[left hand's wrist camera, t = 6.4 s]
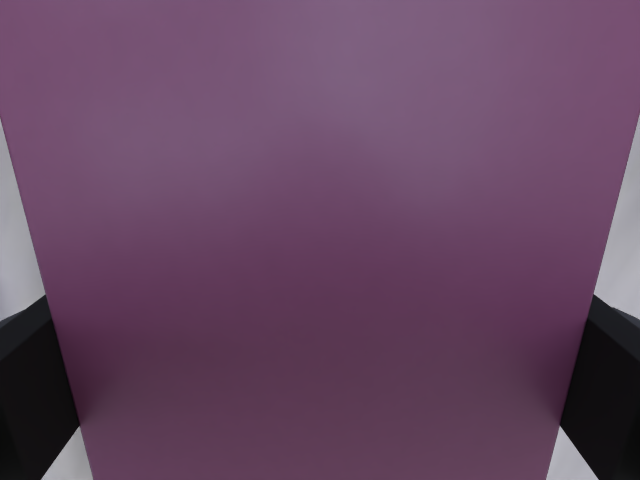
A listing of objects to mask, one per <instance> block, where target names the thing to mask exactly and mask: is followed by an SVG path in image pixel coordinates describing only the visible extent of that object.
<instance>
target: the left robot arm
mask: <svg viewBox="0 0 640 480" xmlns="http://www.w3.org/2000/svg"><path fill="white" fill-rule="evenodd" d="M79 426H80V425H79V421H78V417H77V413H76V410H75V406H74V402H73V398H72V394H71V390H70V386H69V382H68V379H67V375H66V371H65V367H64V363H63V359H62V355H61V351H60V347H59V344H58V340H57V336H56V332H55V328H54V324H53V320H52V316H51V312H50V309H49V305H48V301H47V297H46V295H44V296H43V297H41V298H40V299H39V300H37V301H36V302H35V303H33V304H32V305H31V306H29V307H28V308H27V309H25V310H23V311H21V312H19V313H17V314H14V315H12V316H10V317H8V318H6V319H4V320H2V321H0V480H41V479H42V477H43V476H44V474H45V473H46V472H47V470H48V469H49V467H50V466H51V465H52V463H53V462H54V460H55V459H56V458H57V456H58V455H59V453H60V452H61V451H62V449H63V448H64V446H65V445H66V444H67V442H68V441H69V440H70V438H71V437H72V435H73V434H74V433H75V431H76V430H77V428H78V427H79ZM560 426H561V428H562V429H563V430H564V432H565V433H566V435H567V436H568V437H569V439H570V440H571V442H572V443H573V444H574V446H575V447H576V449H577V450H578V451H579V453H580V454H581V455H582V457H583V458H584V460H585V461H586V462H587V464H588V465H589V467H590V468H591V469H592V471H593V472H594V474H595V475H596V476H597V478H598V479H599V480H640V320H639V319H637V318H635V317H633V316H631V315H629V314H627V313H624V312H622V311H620V310H618V309H616V308H611V307H610V306H609V305H607V304H606V303H605V302H603V301H602V300H601V299H599V298H598V297H597V296H595V295H594V294H593V297H592V301H591V305H590V309H589V313H588V317H587V321H586V325H585V329H584V333H583V337H582V340H581V344H580V348H579V352H578V356H577V360H576V364H575V368H574V372H573V376H572V379H571V383H570V387H569V391H568V395H567V399H566V403H565V407H564V411H563V415H562V418H561V422H560Z"/></svg>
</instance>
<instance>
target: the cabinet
mask: <svg viewBox="0 0 640 480" xmlns="http://www.w3.org/2000/svg"><path fill="white" fill-rule="evenodd" d="M639 114H640V0H0V118H1V122H2V126H3V130H4V134H5V138H6V142H7V146H8V149H9V153H10V157H11V161H12V165H13V169H14V173H15V177H16V180H17V184H18V188H19V192H20V196H21V200H22V204H23V208H24V212H25V215H26V219H27V223H28V227H29V231H30V235H31V239H32V243H33V246H34V250H35V254H36V258H37V262H38V266H39V270H40V274H41V278H42V281H43V285H44V289H45V293H46V297H47V301H48V305H49V309H50V312H51V316H52V320H53V324H54V328H55V332H56V336H57V340H58V344H59V347H60V351H61V355H62V359H63V363H64V367H65V371H66V375H67V379H68V382H69V386H70V390H71V394H72V398H73V402H74V406H75V410H76V413H77V417H78V421H79V425H80V429H81V433H82V437H83V441H84V445H85V448H86V452H87V456H88V460H89V464H90V468H91V472H92V476H93V479H94V480H546V477H547V473H548V469H549V465H550V461H551V457H552V454H553V450H554V446H555V442H556V438H557V434H558V430H559V426H560V422H561V418H562V415H563V411H564V407H565V403H566V399H567V395H568V391H569V387H570V383H571V379H572V376H573V372H574V368H575V364H576V360H577V356H578V352H579V348H580V344H581V340H582V337H583V333H584V329H585V325H586V321H587V317H588V313H589V309H590V305H591V301H592V297H593V294H594V290H595V286H596V282H597V278H598V274H599V270H600V266H601V262H602V258H603V255H604V251H605V247H606V243H607V239H608V235H609V231H610V227H611V223H612V219H613V216H614V212H615V208H616V204H617V200H618V196H619V192H620V188H621V184H622V180H623V177H624V173H625V169H626V165H627V161H628V157H629V153H630V149H631V145H632V141H633V138H634V134H635V130H636V126H637V122H638V118H639Z"/></svg>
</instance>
